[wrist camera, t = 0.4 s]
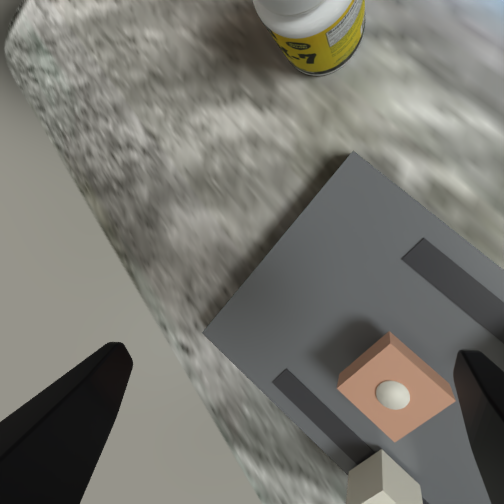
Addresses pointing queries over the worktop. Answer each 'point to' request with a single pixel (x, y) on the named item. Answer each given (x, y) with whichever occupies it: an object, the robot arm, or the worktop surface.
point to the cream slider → (381, 483)
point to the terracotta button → (394, 387)
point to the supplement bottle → (315, 31)
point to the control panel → (367, 322)
